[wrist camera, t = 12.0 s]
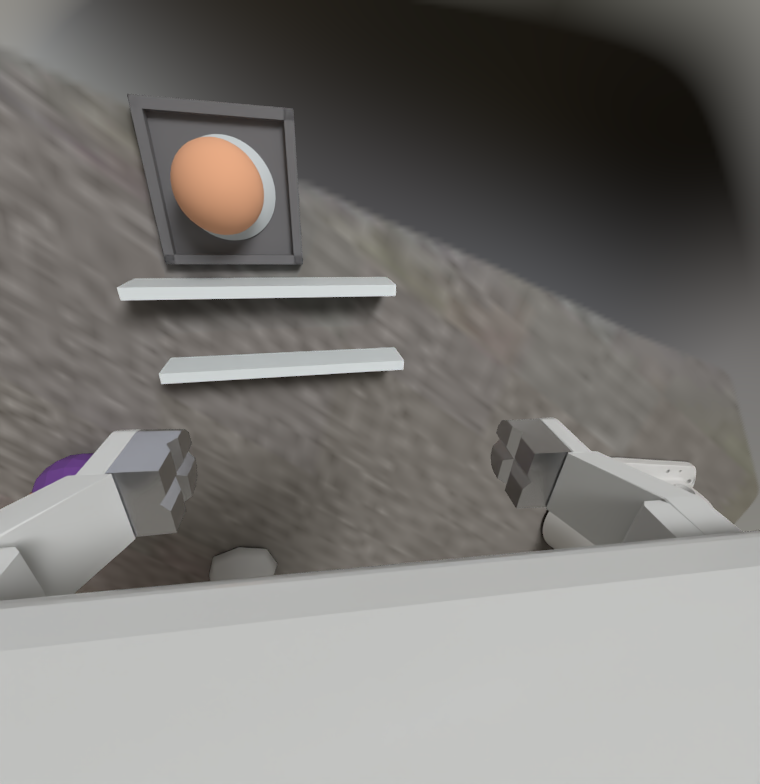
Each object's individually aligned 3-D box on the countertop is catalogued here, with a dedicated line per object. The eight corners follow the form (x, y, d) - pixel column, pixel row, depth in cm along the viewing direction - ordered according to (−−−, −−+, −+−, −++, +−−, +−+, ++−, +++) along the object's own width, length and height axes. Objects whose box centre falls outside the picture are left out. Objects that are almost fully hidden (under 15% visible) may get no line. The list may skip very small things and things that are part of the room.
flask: (203, 550, 38) (177, 653, 29) (274, 539, 39) (270, 635, 31) (215, 593, 41) (195, 697, 33) (280, 582, 43) (278, 678, 34)
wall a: (394, 347, 32) (403, 360, 29) (394, 355, 32) (403, 369, 30) (170, 357, 28) (158, 373, 26) (173, 367, 28) (161, 384, 26)
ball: (263, 146, 23) (251, 131, 18) (272, 233, 25) (263, 238, 21) (178, 141, 22) (144, 124, 18) (195, 231, 24) (168, 237, 20)
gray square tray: (293, 112, 23) (293, 108, 22) (302, 262, 27) (302, 264, 26) (133, 98, 21) (126, 93, 20) (170, 261, 25) (166, 264, 24)
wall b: (386, 277, 29) (396, 284, 26) (386, 287, 29) (395, 295, 27) (134, 278, 25) (116, 287, 23) (137, 290, 25) (120, 300, 23)
